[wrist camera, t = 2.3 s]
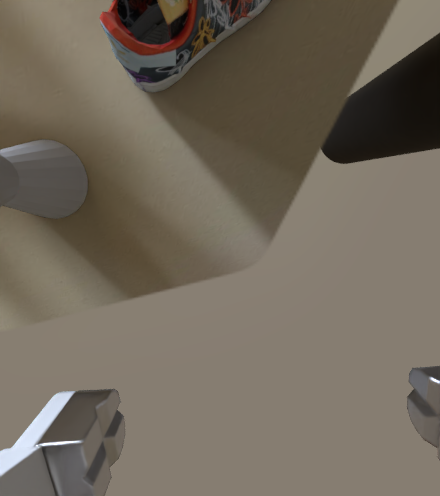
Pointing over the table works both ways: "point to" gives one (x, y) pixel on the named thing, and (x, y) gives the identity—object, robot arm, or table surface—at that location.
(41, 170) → the lava lamp
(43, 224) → the table surface
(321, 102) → the table surface
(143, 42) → the sneaker
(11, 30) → the table surface
